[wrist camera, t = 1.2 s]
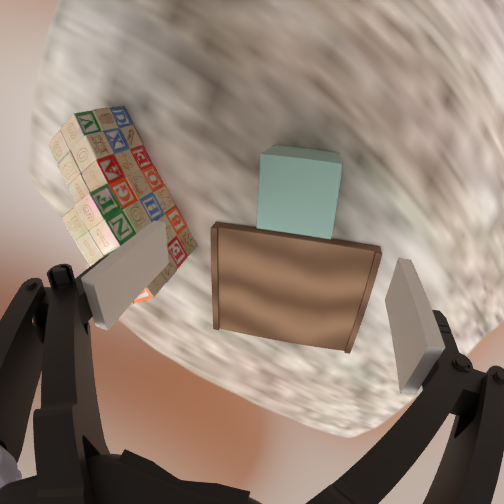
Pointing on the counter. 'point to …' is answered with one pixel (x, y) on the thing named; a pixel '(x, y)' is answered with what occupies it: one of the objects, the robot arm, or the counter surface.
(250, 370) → the counter surface
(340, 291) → the board
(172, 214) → the stack of blocks
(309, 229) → the cube
